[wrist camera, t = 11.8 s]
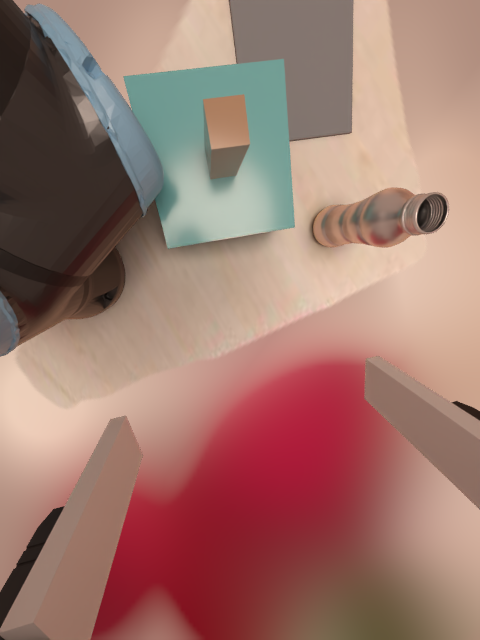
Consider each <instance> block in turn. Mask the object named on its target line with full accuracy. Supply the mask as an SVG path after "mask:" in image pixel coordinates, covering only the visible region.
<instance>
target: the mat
mask: <svg viewBox="0 0 480 640" xmlns="http://www.w3.org/2000/svg"><path fill="white" fill-rule="evenodd" d="M229 3H230V11H231V19H232V27H233V36H234V44H235V52H236V60H237V64H241V63H250V62H259V61H269V60H278V59H284V68H285V84H286V99H287V115H288V130H289V141H295V140H302V139H310V138H318V137H325V136H333V135H341V134H349V133H351V132H352V72H353V0H229Z"/></svg>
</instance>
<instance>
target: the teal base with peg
mask: <svg viewBox="0 0 480 640" xmlns="http://www.w3.org/2000/svg"><path fill="white" fill-rule="evenodd" d="M124 81H125V84H126V88H127V92H128V96H129V100H130V104H131V108H132V111H133V113H134V114H135V116H136V118H137V119H138V121H139V122H140V124H141V126H142V127H143V129H144V130H145V132H146V134H147V136H148V137H149V139H150V141H151V143H152V145H153V146H154V148H155V150H156V152H157V154H158V156H159V159H160V161H161V164H162V167H163V172H164V184H163V187H162V190H161V191H160V193H159V194H158V195H157V197H156V198H155V201H156V205H157V209H158V213H159V216H160V220H161V224H162V228H163V232H164V236H165V240H166V244H167V247H168V249H169V248H175V247H181V246H187V245H193V244H199V243H205V242H211V241H217V240H223V239H229V238H235V237H241V236H247V235H252V234H258V233H264V232H270V231H276V230H282V229H288V228H294V227H295V223H294V208H293V192H292V177H291V161H290V146H289V130H288V115H287V99H286V84H285V68H284V59H278V60H269V61H259V62H250V63H241V64H232V65H223V66H214V67H205V68H196V69H186V70H177V71H168V72H159V73H150V74H141V75H132V76H124Z"/></svg>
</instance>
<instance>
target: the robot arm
mask: <svg viewBox="0 0 480 640" xmlns="http://www.w3.org/2000/svg"><path fill="white" fill-rule="evenodd" d="M163 184H164V172H163V167H162V164H161V161H160V159H159V156H158V154H157V152H156V150H155V148H154V146H153V145H152V143H151V141H150V139H149V137H148V136H147V134H146V132H145V130H144V129H143V127H142V126H141V124H140V122H139V121H138V119H137V118H136V116H135V114H134V113H133V111H132V110H131V108H130V107H129V105H128V104H127V102H126V101H125V99H124V98H123V96H122V95H121V93H120V92H119V91H118V89H117V88H116V86H115V85H114V84H113V82H112V81H111V79H110V78H109V77H108V76H106V75H105V74H104V73H103V72H102V71H101V68H100V66H99V65H98V63H97V62H96V61H95V59H94V58H93V56H92V55H91V53H90V52H89V51H88V49H87V48H86V46H85V45H84V43H83V42H82V41H81V40H80V38H79V37H78V36H77V35H76V34H75V32H74V31H73V30H72V29H71V28H70V27H69V26H68V24H67V23H66V22H65V21H64V20H63V19H62V18H61V17H60V16H59V15H58V14H57V13H56V12H54V11H53V10H52V9H51V8H49V7H47V6H45V5H42V4H37V5H35V6H33V5H27V6H26V8H25V14H24V13H23V12H22V11H21V9H20V8H19V7H18V6H17V5H16V4H15V3H14V1H13V0H0V356H4V355H6V354H8V353H9V352H11V351H12V350H14V349H15V348H16V347H17V346H19V345H20V344H22V343H24V342H26V341H27V340H29V339H31V338H33V337H35V336H36V335H38V334H40V333H42V332H44V331H45V330H47V329H49V328H51V327H53V326H54V325H56V324H58V323H60V322H62V321H63V320H65V319H83V318H88V317H92V316H95V315H97V314H99V313H101V312H103V311H105V310H106V309H108V308H109V307H110V306H112V305H113V304H114V303H115V302H116V301H117V300H118V298H119V297H120V295H121V293H122V290H123V287H124V283H125V270H124V265H123V262H122V259H121V257H120V255H119V253H118V251H117V250H116V248H115V246H116V245H117V243H118V242H119V241H120V240H121V239H122V238H123V236H124V235H125V234H126V233H127V232H128V230H129V229H130V228H131V227H132V226H133V225H134V223H135V222H136V221H137V220H138V219H139V217H144V216H145V215H146V212H147V208H148V207H149V206H150V204H151V203H152V202H153V200H154V199H155V198H156V197H157V195H158V194H159V193H160V191H161V190H162V187H163ZM365 400H367V401H368V402H369V403H370V404H371V405H372V406H373V407H374V408H375V409H376V410H377V411H378V412H379V413H380V414H381V415H382V416H383V417H384V418H385V419H386V420H387V421H388V422H389V423H390V424H391V425H393V426H394V427H395V428H396V429H397V430H398V431H399V432H400V433H401V434H402V435H403V436H404V437H405V438H406V439H407V440H408V441H409V442H410V443H411V444H412V445H413V446H414V447H415V448H416V449H417V450H418V451H420V452H421V453H422V454H423V455H424V456H425V457H426V458H427V459H428V460H429V461H430V462H431V463H432V464H433V465H434V466H435V467H436V468H437V469H438V470H439V471H440V472H441V473H442V474H443V475H444V476H446V477H447V478H448V479H449V480H450V481H451V482H452V483H453V484H454V485H455V486H456V487H457V488H458V489H459V490H460V491H461V492H462V493H463V494H464V495H465V496H466V497H467V498H468V499H469V500H470V501H471V502H472V503H474V504H475V505H476V506H477V507H478V508H479V509H480V411H478V410H477V409H475V408H473V407H470V406H468V405H465V404H463V403H460V402H458V401H455V402H452V403H451V402H450V401H448V400H446V399H445V398H443V397H442V396H440V395H439V394H437V393H436V392H434V391H433V390H431V389H429V388H428V387H426V386H425V385H423V384H422V383H420V382H418V381H417V380H415V379H414V378H412V377H411V376H409V375H408V374H406V373H405V372H403V371H401V370H400V369H398V368H397V367H395V366H394V365H392V364H390V363H389V362H387V361H386V360H384V359H383V358H381V357H380V356H376V357H372V358H367V359H366V369H365ZM142 457H143V454H142V452H141V449H140V447H139V445H138V442H137V440H136V438H135V435H134V433H133V431H132V428H131V426H130V424H129V421H128V419H127V417H126V416H123V417H119V418H114V419H111V420H110V421H109V423H108V425H107V427H106V429H105V431H104V433H103V435H102V437H101V439H100V440H99V442H98V444H97V446H96V448H95V450H94V452H93V454H92V455H91V457H90V459H89V461H88V463H87V465H86V467H85V469H84V471H83V473H82V474H81V477H80V478H79V480H78V482H77V484H76V486H75V488H74V490H73V492H72V493H71V495H70V497H69V499H68V501H67V503H66V505H65V506H64V507H60V508H56V509H53V510H52V512H51V513H50V514H49V515H48V516H47V518H46V519H45V520H44V521H43V522H42V523H41V524H40V526H39V527H38V528H37V530H36V532H35V533H34V535H33V537H32V539H31V540H30V542H29V544H28V546H27V549H26V551H24V552H23V554H22V556H21V558H20V559H19V561H18V563H17V567H16V568H15V569H13V571H12V573H11V575H10V576H9V578H8V580H7V581H6V583H5V585H4V587H3V588H2V590H1V592H0V640H90V638H91V635H92V631H93V628H94V625H95V621H96V617H97V614H98V610H99V607H100V603H101V600H102V596H103V593H104V589H105V586H106V582H107V579H108V576H109V572H110V569H111V565H112V562H113V558H114V555H115V551H116V548H117V544H118V541H119V537H120V534H121V530H122V526H123V523H124V519H125V516H126V513H127V509H128V505H129V502H130V498H131V495H132V492H133V488H134V485H135V481H136V477H137V474H138V471H139V467H140V464H141V460H142Z"/></svg>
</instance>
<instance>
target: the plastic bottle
mask: <svg viewBox="0 0 480 640" xmlns="http://www.w3.org/2000/svg"><path fill="white" fill-rule="evenodd" d="M448 213H449V203H448V200H447V198H446V197H445V196H444V195H443V194H441V193H436V192H434V193H428V194H418V195H414V194H413V193H411V192H410V191H408V190H407V189H403V188H387V189H385V190H382V191H380V192H378V193H376V194H374V195H372V196H370V197H368V198H366V199H364V200H362V201H359V202H357V203H354V204H349V205H332V206H329V207H327V208H325V209H324V210H322V211H321V212H320V213H319V214H318V215H317V217H316V218H315V221H314V225H313V232H314V236H315V238H316V240H317V241H318V242H319V243H320V244H322V245H324V246H327V247H337V246H342V245H344V244H350V243H358V244H366V245H371V246H375V247H382V248H385V247H391V246H394V245H397V244H399V243H401V242H403V241H404V240H406V239H407V238H408V237H409V236H411V235H421V234H430V233H434V232H436V231H437V230H439V229H440V228H441V227H442V226H443V224H444V223H445V221H446V219H447V217H448Z"/></svg>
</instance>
